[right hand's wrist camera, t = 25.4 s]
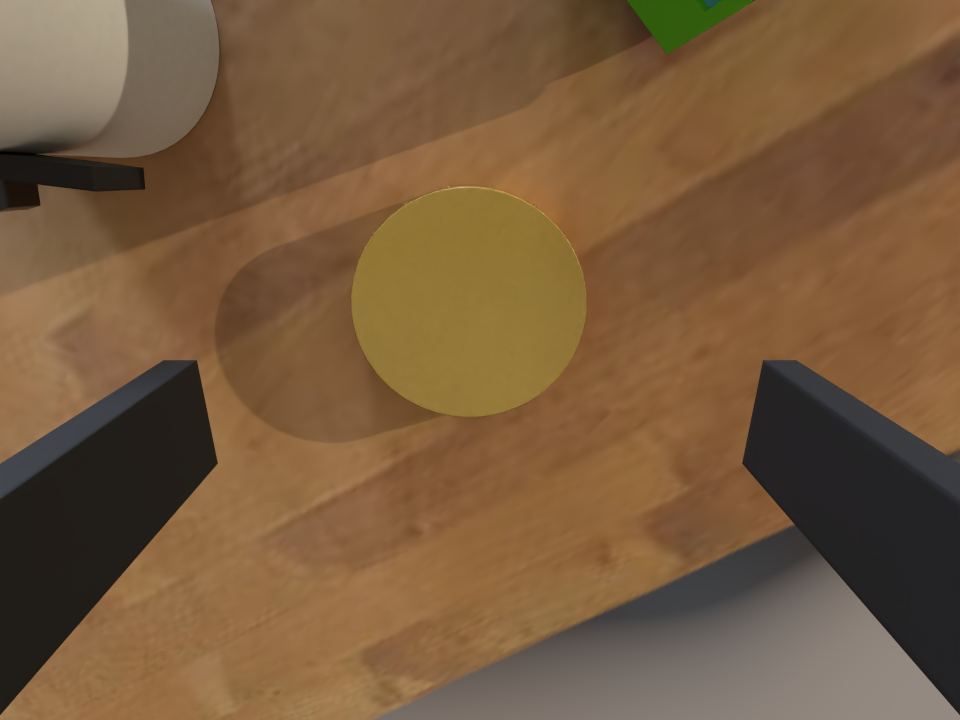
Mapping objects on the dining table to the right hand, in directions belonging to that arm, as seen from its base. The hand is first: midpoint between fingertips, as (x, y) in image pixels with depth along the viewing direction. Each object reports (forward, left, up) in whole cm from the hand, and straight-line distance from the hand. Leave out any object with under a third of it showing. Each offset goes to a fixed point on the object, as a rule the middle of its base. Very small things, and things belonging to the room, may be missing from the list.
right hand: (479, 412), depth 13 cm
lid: (0, 0, -13) cm, 13 cm away
